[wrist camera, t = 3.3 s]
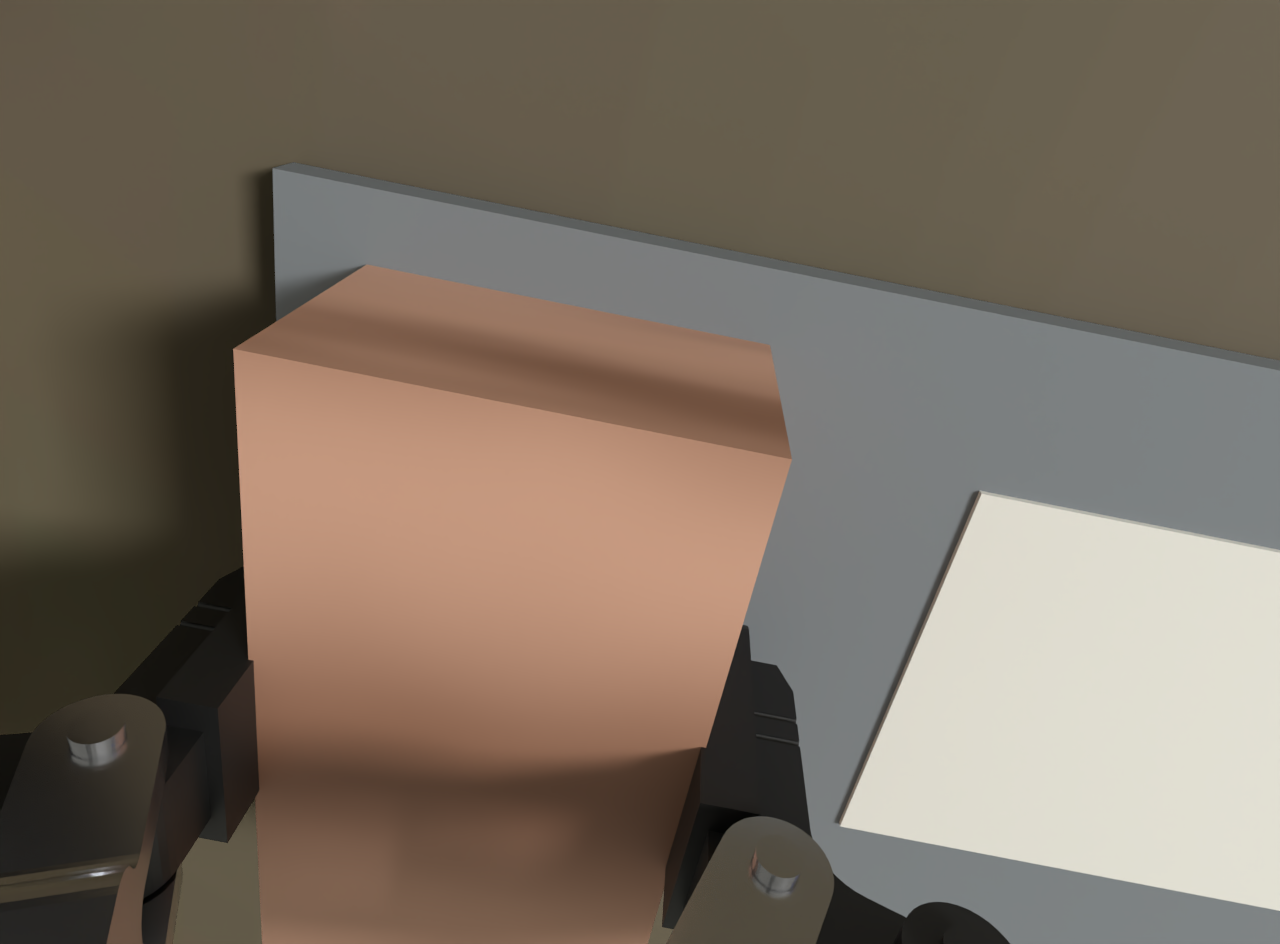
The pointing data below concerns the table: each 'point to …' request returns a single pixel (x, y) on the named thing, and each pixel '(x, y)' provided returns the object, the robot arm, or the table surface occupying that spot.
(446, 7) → the table surface
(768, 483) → the block
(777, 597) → the mat
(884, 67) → the table surface
